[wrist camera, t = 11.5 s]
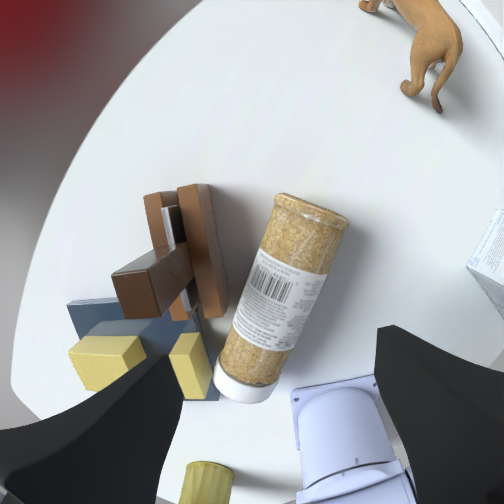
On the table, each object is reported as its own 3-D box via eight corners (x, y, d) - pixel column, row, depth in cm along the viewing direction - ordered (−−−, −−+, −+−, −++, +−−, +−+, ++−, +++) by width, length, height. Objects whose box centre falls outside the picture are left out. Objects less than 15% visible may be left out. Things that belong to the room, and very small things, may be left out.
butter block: (154, 375, 20) (141, 397, 17) (101, 371, 21) (86, 390, 18) (138, 335, 19) (122, 355, 16) (85, 335, 20) (66, 352, 17)
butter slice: (212, 374, 20) (205, 399, 17) (194, 374, 20) (185, 399, 17) (200, 331, 19) (189, 354, 16) (181, 333, 19) (168, 355, 16)
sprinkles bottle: (284, 192, 18) (224, 356, 21) (268, 187, 13) (200, 386, 17) (349, 218, 17) (276, 380, 20) (355, 220, 12) (261, 416, 16)
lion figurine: (319, -22, 13) (335, -92, 4) (369, -26, 12) (397, -84, 3) (413, 121, 15) (495, 92, 7) (458, 108, 14) (533, 86, 6)
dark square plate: (220, 393, 21) (218, 400, 20) (110, 388, 23) (106, 394, 22) (190, 289, 19) (187, 294, 18) (72, 300, 20) (66, 304, 19)
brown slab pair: (230, 298, 19) (223, 317, 16) (185, 302, 19) (172, 321, 17) (208, 183, 17) (196, 183, 14) (161, 193, 18) (142, 196, 15)
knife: (215, 285, 19) (176, 361, 10) (191, 288, 19) (139, 360, 10) (198, 200, 18) (135, 214, 9) (173, 205, 18) (97, 224, 9)
